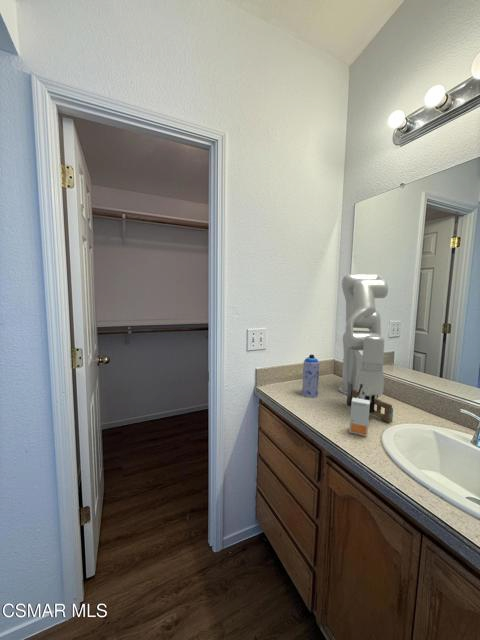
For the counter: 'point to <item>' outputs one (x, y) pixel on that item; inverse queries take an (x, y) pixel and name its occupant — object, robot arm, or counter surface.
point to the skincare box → (359, 416)
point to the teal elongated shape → (349, 397)
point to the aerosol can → (310, 377)
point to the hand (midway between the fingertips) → (369, 411)
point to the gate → (378, 408)
